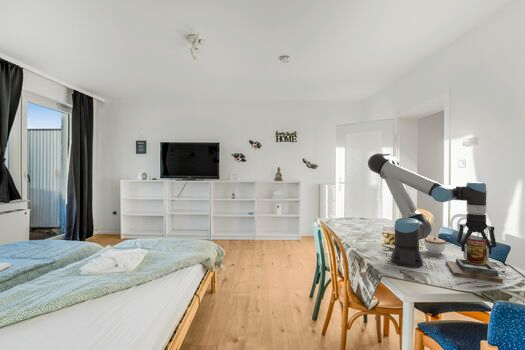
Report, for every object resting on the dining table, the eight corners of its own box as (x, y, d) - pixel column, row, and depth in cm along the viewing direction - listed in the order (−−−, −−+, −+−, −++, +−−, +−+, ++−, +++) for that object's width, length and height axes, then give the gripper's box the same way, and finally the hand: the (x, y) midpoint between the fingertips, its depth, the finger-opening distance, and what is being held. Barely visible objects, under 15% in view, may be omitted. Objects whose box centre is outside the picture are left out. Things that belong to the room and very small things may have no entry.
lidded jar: (442, 256, 152) (442, 240, 152) (421, 252, 160) (421, 237, 160) (447, 252, 159) (447, 237, 159) (427, 248, 167) (427, 234, 167)
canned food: (464, 261, 129) (464, 237, 129) (467, 258, 135) (467, 234, 135) (485, 265, 124) (485, 240, 123) (487, 261, 129) (487, 237, 129)
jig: (453, 275, 124) (454, 268, 124) (445, 263, 140) (445, 257, 140) (502, 282, 116) (503, 274, 116) (488, 268, 133) (488, 261, 133)
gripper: (452, 213, 130) (452, 258, 130) (506, 216, 121) (506, 264, 122) (449, 211, 137) (448, 254, 137) (500, 213, 128) (499, 260, 128)
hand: (475, 259), depth 129 cm, fingers closed on canned food, 8 cm apart
